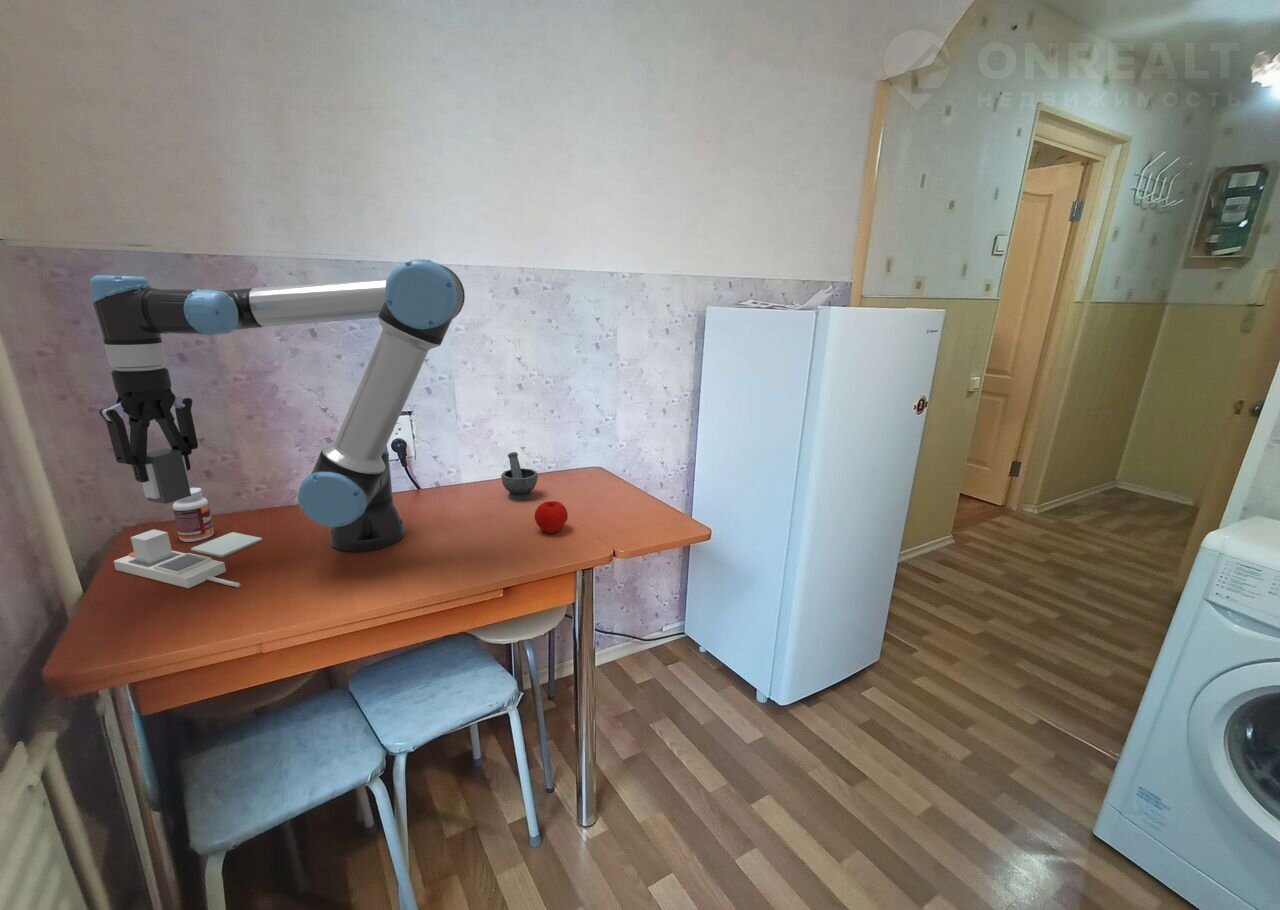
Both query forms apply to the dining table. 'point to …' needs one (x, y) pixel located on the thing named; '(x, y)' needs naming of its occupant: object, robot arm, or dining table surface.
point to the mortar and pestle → (519, 479)
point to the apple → (551, 516)
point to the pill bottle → (193, 517)
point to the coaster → (226, 544)
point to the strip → (169, 562)
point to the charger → (169, 475)
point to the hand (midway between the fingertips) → (168, 492)
